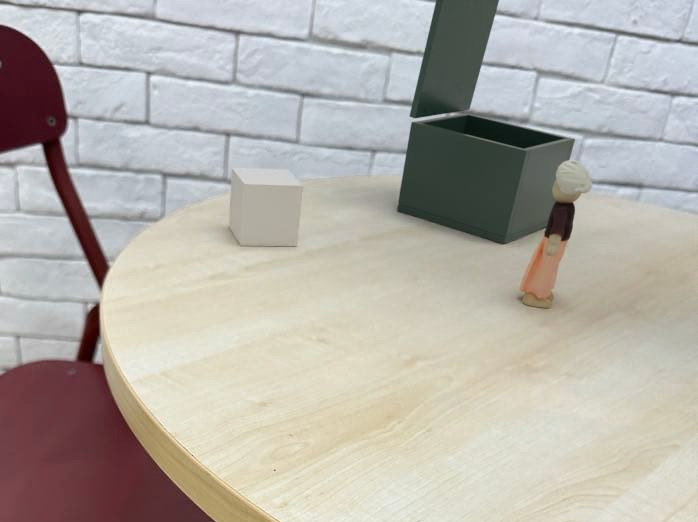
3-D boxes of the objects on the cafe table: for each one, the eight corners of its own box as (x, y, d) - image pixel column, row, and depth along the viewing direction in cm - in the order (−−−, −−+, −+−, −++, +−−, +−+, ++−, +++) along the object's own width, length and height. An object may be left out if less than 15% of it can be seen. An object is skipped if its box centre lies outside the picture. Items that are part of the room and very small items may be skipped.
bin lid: (510, -41, 94) (471, -51, 96) (453, -45, 86) (412, -56, 88) (469, 109, 104) (435, 97, 106) (414, 118, 96) (378, 105, 98)
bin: (551, 225, 104) (575, 138, 98) (503, 244, 95) (526, 151, 90) (449, 195, 110) (466, 112, 105) (396, 210, 102) (411, 121, 96)
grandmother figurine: (516, 284, 85) (551, 148, 77) (554, 291, 84) (594, 155, 77) (516, 312, 79) (555, 167, 71) (558, 319, 78) (601, 174, 71)
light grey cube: (297, 246, 88) (303, 185, 84) (240, 246, 86) (244, 184, 82) (282, 227, 92) (287, 169, 88) (228, 226, 90) (231, 167, 87)
